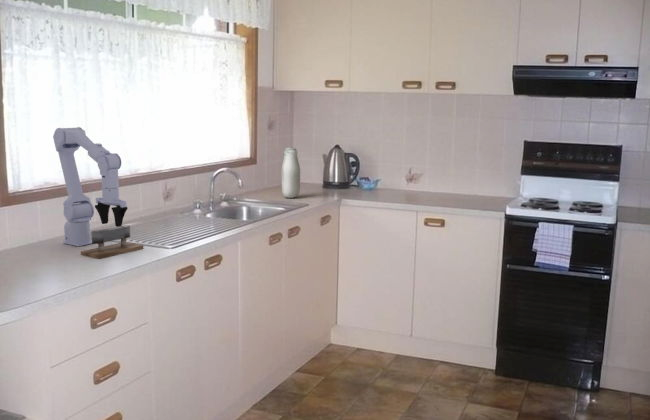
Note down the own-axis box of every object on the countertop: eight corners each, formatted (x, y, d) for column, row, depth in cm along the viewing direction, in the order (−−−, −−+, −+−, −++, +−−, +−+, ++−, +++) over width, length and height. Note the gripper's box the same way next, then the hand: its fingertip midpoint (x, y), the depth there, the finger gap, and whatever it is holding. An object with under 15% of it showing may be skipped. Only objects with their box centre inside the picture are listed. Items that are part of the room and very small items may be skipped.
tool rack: (80, 254, 247) (80, 242, 246) (125, 244, 263) (125, 233, 262) (98, 258, 241) (98, 246, 240) (143, 248, 257) (143, 236, 257)
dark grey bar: (89, 242, 246) (89, 231, 245) (125, 235, 259) (125, 224, 258) (96, 244, 243) (96, 233, 243) (132, 236, 256) (132, 226, 256)
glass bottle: (292, 195, 391) (292, 146, 386) (303, 198, 383) (303, 147, 378) (277, 197, 384) (278, 147, 379) (289, 199, 377) (289, 148, 372)
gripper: (88, 187, 249) (89, 224, 251) (114, 190, 241) (115, 229, 243) (104, 185, 255) (105, 221, 257) (130, 188, 247) (131, 226, 249)
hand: (111, 224), depth 250 cm, fingers open, 7 cm apart
